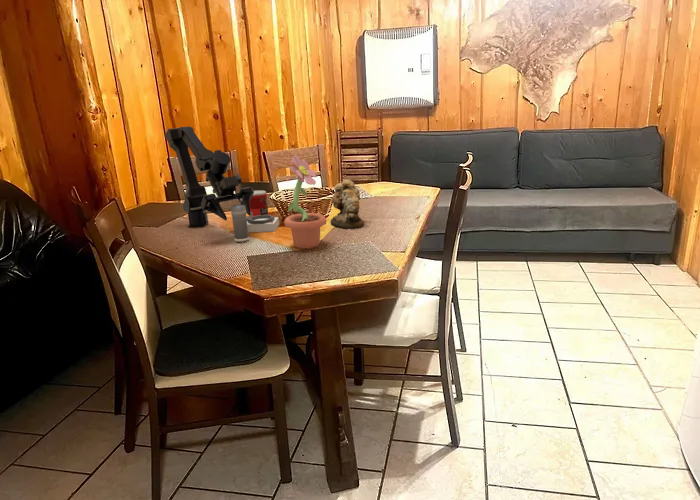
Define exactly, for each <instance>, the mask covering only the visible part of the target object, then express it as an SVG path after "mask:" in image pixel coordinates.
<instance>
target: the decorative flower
mask: <svg viewBox="0 0 700 500" xmlns="http://www.w3.org/2000/svg"><path fill="white" fill-rule="evenodd" d="M290 162H291V163H292V164H293V165H294V166H289V170H290V171H291V173H292V174H295V175H297V181H296V184H295V187H294V191H293V200H292V201H293V202H292V203H290V204H289V205H288V210H287V212H291V211H292V210H293V212H295V213H296V214H291V215H288V216H287V217H285V219H284V221H283V223H284V227H287V228H288V229H290V230H291V236H292V243H293V246H294V247H296V248H297V249H303V250H304V249H305V248H306V249H312V248H316V247H318V246H319V245H320V243H321V242H320V241H321V227H323V226H325V225H327V218H326V216H325V215H323V214H321V213H317V212H316V213H315V212H314V213H311V212H307V211H306V210H305V209H303V208H302V207H301V206H299V201H300V199H299V197H300V192H301V194H302V195H304V196H307V195H308V194H307V192H306V190H305V188H302V186H303V183H306V184H307V185H310V186H312V185H313V186H314V185H316V183H317V182H316V180H315V179H314V178H316V177H317V175H316V172H315V171H314V170H313V169H312V168H310V166H309V163H308V162H307V161H306V160H305V159H302V160H301V159H300V157H299V156H298V155H297V154H295V155H294V156H292V157H291V161H290Z"/></svg>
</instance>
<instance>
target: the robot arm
mask: <svg viewBox="0 0 700 500" xmlns="http://www.w3.org/2000/svg"><path fill="white" fill-rule="evenodd" d="M164 135H165V140H166V142H167V143H168V146H169V147H170V148H171V149H172V150H173V151H174V152H175V154H176V158H177V160H178V163H179V166H180V171H181V173H182V177H183V179H184V183H185V186H186V187H185V191H184V200H183V204H182V210H183V212H185V213H187V217H188V223H189V225H187V227H188V228H196V227H198V228H199V227H200V228H201V227H205V226H207V224H209V217H208V216H209V215H208V213H207V212H211V213H212V214H214V215H216V216H218V217H219V218H221V219H222V220H224V221H227V220H228V218H227V215H226V213H225V211H224V210H223V208H222V206H221V205H220V204H221V203H226V202H230V201H236V200H238V201H239V203H240V204H239V205H245V209H246V215H247V216H249V215H250V214H251V213H250V206H249V201H250V200H251V198H252V196H253V193H254V191H255V190H254V189H253V188H252V187H251V186H248V187H242V188H240V190H239V192H236V190H237V188H236V187H238V186H239V185H240V184H242V183H243V179H242V177H241V176H240V174H233V176H228V177H226V176H225V174H226V173H227V171H228V168H229V166H230V163H231V162H232V161H231V156H230V155H229V154H228V153H226V152H223V151H222V150H221V149H216V150H214V152H213V150H210V149H208V148H206V147H205V145H204V144H203V142H202V141H201V140H200V138H199V137H198V136H197V134H196V133H195V131H194V127H192V126H189V125H188V126H180V127H175V128H168V129H167V131H166V132H165V134H164ZM190 152H191V153H192V154H193V156H194V157H195V161H194V163H195V165H196V168H197V169H198V170H199V171H200V172H206V173H205V181H206V182H208V183H209V184H210V186H211V187H212V193H210V194H208V193H207V190H206V187H205V186H204V185H200V183H199V180H198V177H197V173H196V170H195V167H194V164H193V161H192V157H191V155H190ZM235 192H236V193H235Z"/></svg>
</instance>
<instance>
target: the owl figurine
mask: <svg viewBox="0 0 700 500" xmlns="http://www.w3.org/2000/svg"><path fill="white" fill-rule="evenodd" d="M334 191H335V192H334V193H333V196H332V202H331V203H332V205H333V208H334V209H337V210H338V211H339V212H338V213H336V215H334V216H332V218H331V219H330V224H331V226H332V227H335V228H337V229H341V228H342V229H341V230H346V229H348V230H353V229H355V228H356V229H359V228H362V227H364V226H365V222H364V220H363V219H362V218H361V217H360V216H359V213H360V200H361V199H362V198H361V195H360V190H359V188H358V187H357V186H356V185H355V183H354V181H352V180H350V179H344V180H342V182H339V183H337V184H336V185H334Z"/></svg>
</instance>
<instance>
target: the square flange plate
mask: <svg viewBox="0 0 700 500" xmlns="http://www.w3.org/2000/svg"><path fill="white" fill-rule="evenodd" d="M246 218H247V227H248V233H267V232H268V233H269V232H275V231H277V229H278V227H279V226H280V220H279V216H278V217H276V216H274V215H272V214H268V215H257V216H253V217H250V216H249V215H246Z"/></svg>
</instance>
